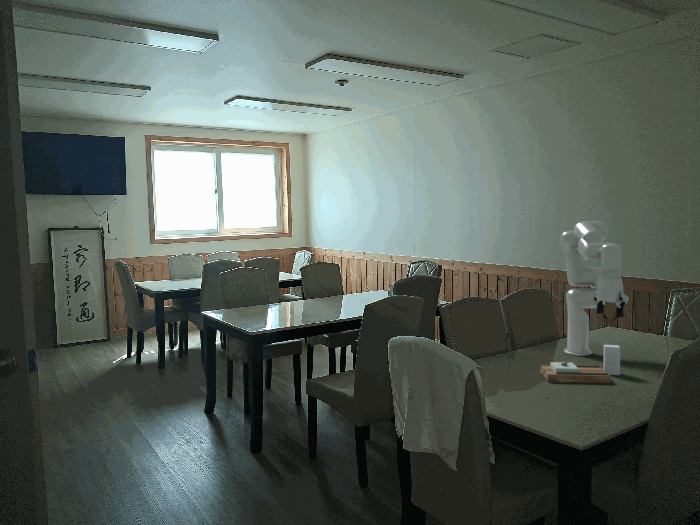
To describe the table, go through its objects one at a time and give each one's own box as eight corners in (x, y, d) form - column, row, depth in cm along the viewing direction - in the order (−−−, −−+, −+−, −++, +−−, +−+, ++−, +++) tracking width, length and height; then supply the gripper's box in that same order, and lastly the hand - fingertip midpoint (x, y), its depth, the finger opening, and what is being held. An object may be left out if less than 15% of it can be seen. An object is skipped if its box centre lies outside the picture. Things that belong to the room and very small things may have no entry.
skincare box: (618, 372, 227) (619, 345, 226) (620, 375, 223) (620, 347, 222) (602, 371, 229) (603, 344, 228) (604, 374, 225) (604, 346, 224)
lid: (550, 366, 227) (550, 359, 227) (572, 367, 226) (572, 359, 226) (555, 373, 218) (555, 365, 218) (578, 373, 217) (578, 365, 217)
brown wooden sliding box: (540, 371, 230) (540, 363, 230) (598, 373, 227) (598, 364, 227) (548, 382, 216) (548, 373, 216) (610, 383, 213) (610, 374, 213)
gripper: (587, 272, 226) (586, 312, 227) (621, 276, 210) (620, 319, 211) (600, 271, 228) (599, 311, 230) (635, 275, 212) (634, 317, 214)
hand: (609, 315), depth 220 cm, fingers open, 9 cm apart
